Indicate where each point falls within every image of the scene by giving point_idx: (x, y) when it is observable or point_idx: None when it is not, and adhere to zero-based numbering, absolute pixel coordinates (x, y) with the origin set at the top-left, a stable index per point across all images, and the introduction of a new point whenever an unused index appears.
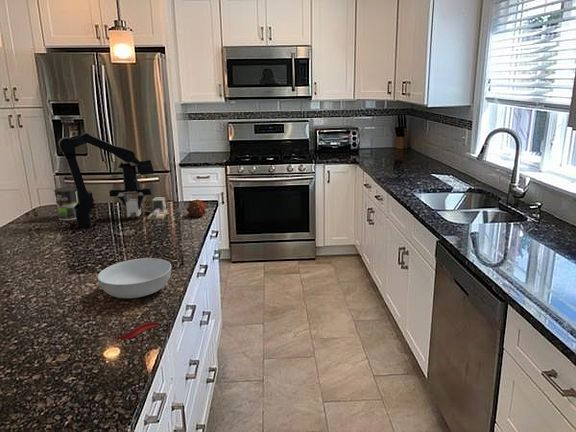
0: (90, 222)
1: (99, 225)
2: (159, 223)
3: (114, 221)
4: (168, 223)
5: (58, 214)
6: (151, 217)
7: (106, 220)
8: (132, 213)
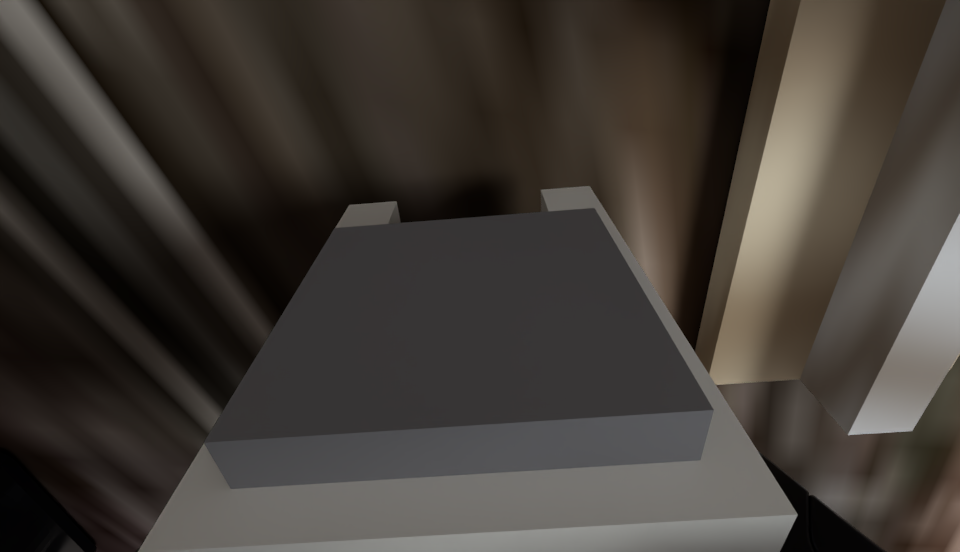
0: (14, 545)
1: (138, 489)
2: (843, 472)
3: (213, 370)
4: (946, 478)
5: None
6: (780, 353)
7: (34, 316)
8: (398, 216)
